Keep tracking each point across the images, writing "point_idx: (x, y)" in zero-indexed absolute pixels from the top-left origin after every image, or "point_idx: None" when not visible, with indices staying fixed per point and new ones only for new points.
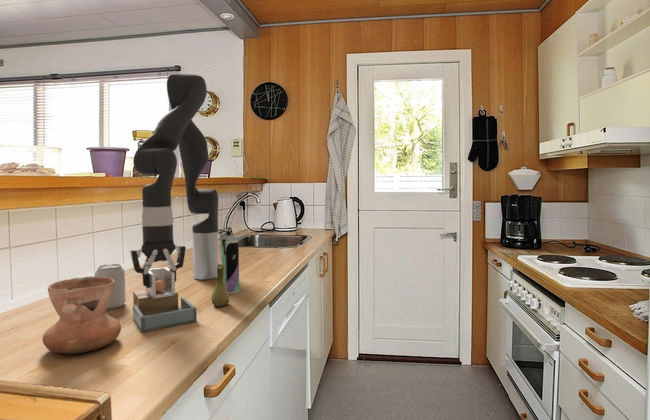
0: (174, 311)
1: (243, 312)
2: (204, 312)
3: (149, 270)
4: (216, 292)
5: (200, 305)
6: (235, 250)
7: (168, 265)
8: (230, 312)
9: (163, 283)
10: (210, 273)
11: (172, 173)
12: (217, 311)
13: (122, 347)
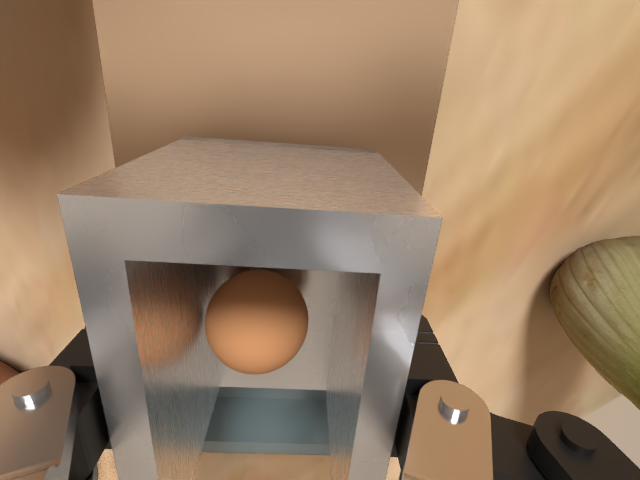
0: (291, 447)
1: (573, 408)
2: (462, 323)
3: (131, 305)
4: (600, 358)
5: (514, 206)
6: None
7: (410, 435)
8: (539, 382)
9: (293, 356)
10: None
11: None
12: (511, 342)
13: (98, 472)
